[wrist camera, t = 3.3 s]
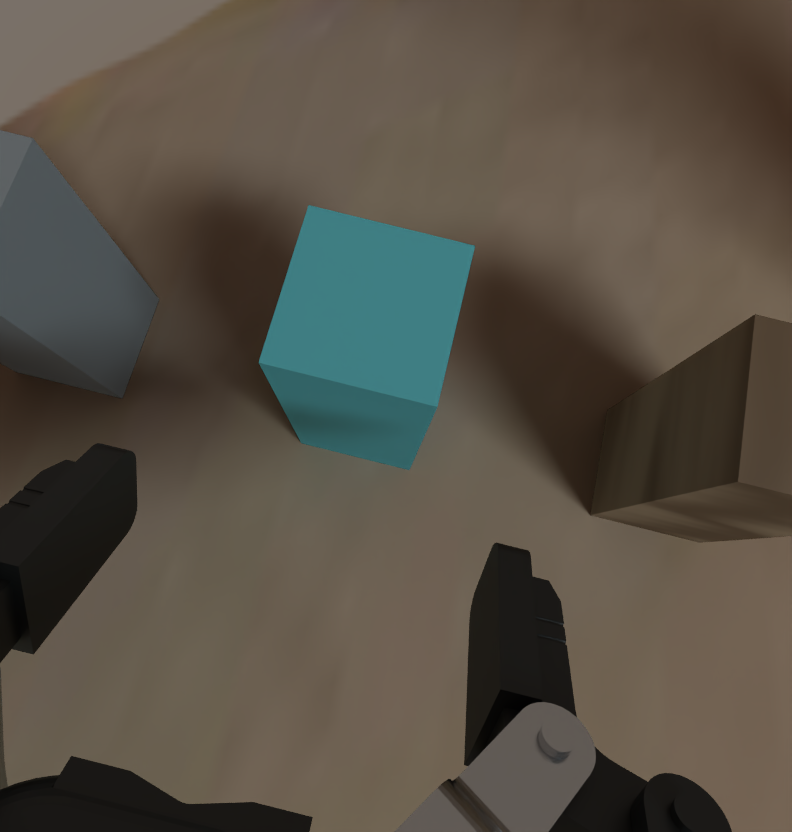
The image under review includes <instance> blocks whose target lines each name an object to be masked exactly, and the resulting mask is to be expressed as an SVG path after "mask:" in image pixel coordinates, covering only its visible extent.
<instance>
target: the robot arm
mask: <svg viewBox="0 0 792 832" xmlns="http://www.w3.org/2000/svg"><path fill="white" fill-rule="evenodd" d="M136 511H137V476H136V457H135V454H134V453H133V452H132V451H129V450H125V449H120V448H116V447H112V446H108V445H104V444H100V443H97V444H95V445H93V446H92V447H91V448H90V449H89V450H88V451H87V452H86V453H85V454H83V455H82V456H81V457H80V458H79V459H78V460H77V461H76V462H73V461H69V460H64V461H62V462H60V463H58V464H56V465H54V466H52V467H50V468H47V469H45V470H43V471H41V472H40V473H39V474H38V475H37V476H36V477H35V478H33V479H32V480H31V481H30V482H29V483H28V484H27V485H26V486H25V487H24V489H23V491H19V492H18V493H17V494H16V495H15V496H14V497H12V498H11V499H10V500H9V503H8V504H5V505H4V506H2V507H1V508H0V662H1V661H2V660H3V659H4V658H5V656H6V655H7V654H8V653H9V651H10V650H11V649H14V650H18V651H22V652H26V653H30V654H34V653H35V652H36V651H37V649H38V648H39V647H40V645H41V644H42V643H43V642H44V640H45V639H46V638H47V636H48V635H49V634H50V633H51V631H52V630H53V629H54V627H55V626H56V625H57V624H58V622H59V621H60V620H61V618H62V617H63V616H64V614H65V613H66V612H67V611H68V609H69V608H70V607H71V605H72V604H73V603H74V602H75V600H76V599H77V598H78V596H79V595H80V594H81V593H82V591H83V590H84V589H85V587H86V586H87V585H88V584H89V582H90V581H91V580H92V578H93V577H94V576H95V574H96V573H97V572H98V571H99V569H100V568H101V567H102V565H103V564H104V563H105V562H106V560H107V559H108V558H109V556H110V555H111V554H112V553H113V551H114V550H115V549H116V547H117V546H118V545H119V544H120V542H121V541H122V540H123V538H124V537H125V536H126V534H127V533H128V532H129V530H130V528H131V526H132V524H133V522H134V519H135V515H136ZM563 624H564V621H563V614H562V606H561V601H560V599H559V598H558V596H557V594H556V592H555V591H554V589H553V587H552V585H551V584H550V582H549V581H548V580H544V579H540V578H536V577H532V566H531V555H530V552H529V551H528V550H524V549H520V548H516V547H512V546H508V545H504V544H500V543H495V544H494V545H493V547H492V549H491V551H490V554H489V557H488V559H487V562H486V564H485V567H484V569H483V572H482V575H481V577H480V580H479V582H478V585H477V588H476V590H475V593H474V597H473V601H472V605H471V611H470V622H469V649H468V677H467V705H466V733H465V760H464V765H466V766H468V767H467V768H466V769H465V770H464V771H463V772H462V773H461V774H460V775H459V776H458V777H457V778H456V779H455V780H453V781H451V779H448V780H446V781H445V782H444V783H442V784H441V785H440V786H439V787H438V788H437V789H436V790H435V791H434V792H433V793H432V794H431V795H430V796H429V797H428V798H427V799H426V800H425V801H424V802H423V803H422V804H421V805H420V806H419V807H418V808H417V809H416V810H415V811H414V812H413V813H412V814H411V815H410V816H409V817H408V818H407V819H406V820H405V822H404V823H403V824H402V825H401V826H400V827H399V828H398V829H397V830H396V831H395V832H732V831H731V828H730V825H729V823H728V821H727V819H726V816H725V815H724V813H723V811H722V810H721V808H720V807H719V806H718V804H717V803H716V802H715V800H714V799H713V798H712V797H711V796H710V795H709V794H708V793H707V792H706V791H705V790H704V789H702V788H701V787H700V786H699V785H697V784H696V783H694V782H693V781H691V780H689V779H687V778H685V777H682V776H680V775H676V774H672V773H664V774H659V775H656V776H654V777H653V778H652V779H651V780H650V781H649V782H647V781H645V780H644V779H642V778H640V777H638V776H637V775H635V774H633V773H632V772H630V771H628V770H626V769H625V768H623V767H621V766H620V765H618V764H616V763H614V762H613V761H611V760H610V759H608V758H607V757H606V756H604V755H603V754H602V753H601V752H600V751H599V750H598V749H597V748H596V747H595V746H594V743H593V740H592V738H591V736H590V734H589V732H588V731H587V729H586V728H585V726H584V725H583V724H582V722H581V721H580V720H579V719H578V718H577V716H576V711H575V704H574V696H573V689H572V681H571V674H570V666H569V659H568V651H567V645H565V643H566V636H565V629H564V627H563ZM312 818H313V817H309V816H305V815H301V814H298V813H294V812H290V811H286V810H282V809H278V808H274V807H270V806H266V805H262V804H258V803H254V802H244V803H212V804H186V803H182V802H180V801H178V800H176V799H175V798H173V797H172V796H170V795H168V794H167V793H165V792H163V791H162V790H160V789H159V788H157V787H155V786H154V785H152V784H151V783H149V782H147V781H146V780H144V779H142V778H141V777H139V776H138V775H136V774H134V773H133V772H131V771H128V770H124V769H121V768H117V767H113V766H109V765H105V764H101V763H97V762H93V761H89V760H85V759H81V758H77V757H73V756H71V757H70V759H69V761H68V762H67V764H66V766H65V767H64V769H63V771H62V772H61V774H60V775H55V776H47V777H41V778H35V779H31V780H27V781H24V782H20V783H17V784H14V785H11V786H9V787H8V784H7V777H6V770H5V761H4V743H3V717H2V690H1V669H0V832H309V831H310V826H311V822H312Z"/></svg>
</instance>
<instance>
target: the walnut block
mask: <svg viewBox="0 0 792 832" xmlns="http://www.w3.org/2000/svg"><path fill="white" fill-rule="evenodd" d="M590 515H591V516H595V517H599V518H603V519H607V520H612V521H616V522H620V523H624V524H628V525H632V526H636V527H640V528H644V529H648V530H652V531H656V532H660V533H664V534H668V535H672V536H676V537H680V538H684V539H688V540H692V541H696V542H714V541H728V540H742V539H757V538H771V537H785V536H792V323H789V322H784V321H780V320H776V319H772V318H768V317H764V316H760V315H756V314H755V315H753V316H752V317H750V318H749V319H747V320H746V321H744V322H743V323H741V324H740V325H738V326H737V327H735V328H733V329H732V330H730V331H729V332H727V333H726V334H724V335H723V336H721V337H720V338H718V339H716V340H715V341H713V342H712V343H710V344H709V345H707V346H706V347H704V348H703V349H701V350H699V351H698V352H696V353H695V354H693V355H692V356H690V357H689V358H687V359H686V360H684V361H682V362H681V363H679V364H678V365H676V366H675V367H673V368H672V369H670V370H669V371H667V372H666V373H664V374H662V375H661V376H659V377H658V378H656V379H655V380H653V381H652V382H650V383H649V384H647V385H645V386H644V387H642V388H641V389H639V390H638V391H636V392H635V393H633V394H632V395H630V396H628V397H627V398H625V399H624V400H622V401H621V402H619V403H618V404H616V405H615V406H613V407H612V408H610V409H608V410H607V415H606V422H605V428H604V434H603V440H602V446H601V453H600V459H599V465H598V471H597V477H596V483H595V490H594V496H593V502H592V508H591V514H590Z"/></svg>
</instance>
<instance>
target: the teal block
mask: <svg viewBox="0 0 792 832" xmlns="http://www.w3.org/2000/svg"><path fill="white" fill-rule="evenodd" d="M474 249H475V246H474V245H470V244H466V243H461V242H457V241H453V240H449V239H445V238H441V237H437V236H433V235H429V234H425V233H421V232H416V231H412V230H408V229H404V228H400V227H396V226H392V225H388V224H384V223H380V222H376V221H371V220H367V219H363V218H359V217H355V216H351V215H347V214H343V213H339V212H335V211H331V210H326V209H322V208H318V207H314V206H310V205H308V209H307V212H306V215H305V218H304V221H303V224H302V227H301V231H300V234H299V237H298V240H297V243H296V246H295V249H294V253H293V256H292V259H291V262H290V265H289V268H288V271H287V275H286V278H285V281H284V284H283V287H282V290H281V293H280V297H279V300H278V303H277V306H276V309H275V312H274V315H273V319H272V322H271V325H270V328H269V331H268V334H267V337H266V341H265V344H264V347H263V350H262V353H261V356H260V359H259V364H260V366H261V368H262V370H263V372H264V374H265V376H266V378H267V380H268V381H269V383H270V385H271V387H272V389H273V391H274V393H275V395H276V396H277V398H278V400H279V402H280V404H281V406H282V408H283V410H284V412H285V413H286V415H287V417H288V419H289V421H290V423H291V425H292V427H293V429H294V430H295V432H296V434H297V436H298V438H299V440H300V442H301V443H303V444H307V445H311V446H315V447H319V448H323V449H327V450H331V451H335V452H339V453H343V454H347V455H351V456H355V457H359V458H363V459H367V460H371V461H375V462H379V463H383V464H387V465H391V466H395V467H399V468H403V469H407V470H409V469H410V467H411V465H412V463H413V460H414V458H415V456H416V454H417V451H418V449H419V447H420V445H421V442H422V440H423V438H424V436H425V433H426V431H427V429H428V427H429V424H430V422H431V420H432V418H433V415H434V413H435V411H436V409H437V406H438V402H439V398H440V393H441V389H442V385H443V381H444V376H445V372H446V368H447V363H448V359H449V355H450V351H451V346H452V342H453V338H454V334H455V329H456V325H457V321H458V317H459V312H460V308H461V304H462V300H463V295H464V291H465V287H466V283H467V278H468V274H469V270H470V266H471V261H472V257H473V253H474Z"/></svg>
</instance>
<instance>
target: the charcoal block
mask: <svg viewBox="0 0 792 832" xmlns="http://www.w3.org/2000/svg"><path fill="white" fill-rule="evenodd" d="M158 301H159V299H158V297H157V296H156V295H155V293H154V292H153V291H152V290H151V288H150V287H149V286H148V285H147V283H146V282H145V281H144V279H143V278H142V277H141V276H140V274H139V273H138V272H137V270H136V269H135V268H134V267H133V265H132V264H131V263H130V262H129V260H128V259H127V258H126V256H125V255H124V254H123V253H122V251H121V250H120V249H119V248H118V246H117V245H116V244H115V242H114V241H113V240H112V239H111V237H110V236H109V235H108V233H107V232H106V231H105V230H104V228H103V227H102V226H101V225H100V223H99V222H98V221H97V219H96V218H95V217H94V216H93V214H92V213H91V212H90V211H89V209H88V208H87V207H86V205H85V204H84V203H83V202H82V200H81V199H80V198H79V196H78V195H77V194H76V193H75V191H74V190H73V189H72V188H71V186H70V185H69V184H68V182H67V181H66V180H65V179H64V177H63V176H62V175H61V174H60V172H59V171H58V170H57V168H56V167H55V166H54V165H53V163H52V162H51V161H50V159H49V158H48V157H47V156H46V154H45V153H44V152H43V151H42V149H41V148H40V147H39V145H38V144H37V143H36V142H35V140H34V139H33V138H30V137H26V136H22V135H18V134H13V133H9V132H5V131H1V130H0V363H1V364H2V365H4V366H6V367H8V368H10V369H11V370H13V371H15V372H18V373H22V374H26V375H30V376H34V377H38V378H42V379H46V380H50V381H54V382H58V383H62V384H66V385H70V386H74V387H78V388H82V389H86V390H90V391H94V392H98V393H102V394H106V395H110V396H114V397H118V398H123V396H124V393H125V390H126V388H127V385H128V382H129V379H130V377H131V374H132V371H133V369H134V366H135V363H136V361H137V358H138V355H139V352H140V350H141V347H142V344H143V342H144V339H145V336H146V334H147V331H148V328H149V326H150V323H151V320H152V317H153V315H154V312H155V309H156V307H157V304H158Z"/></svg>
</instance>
